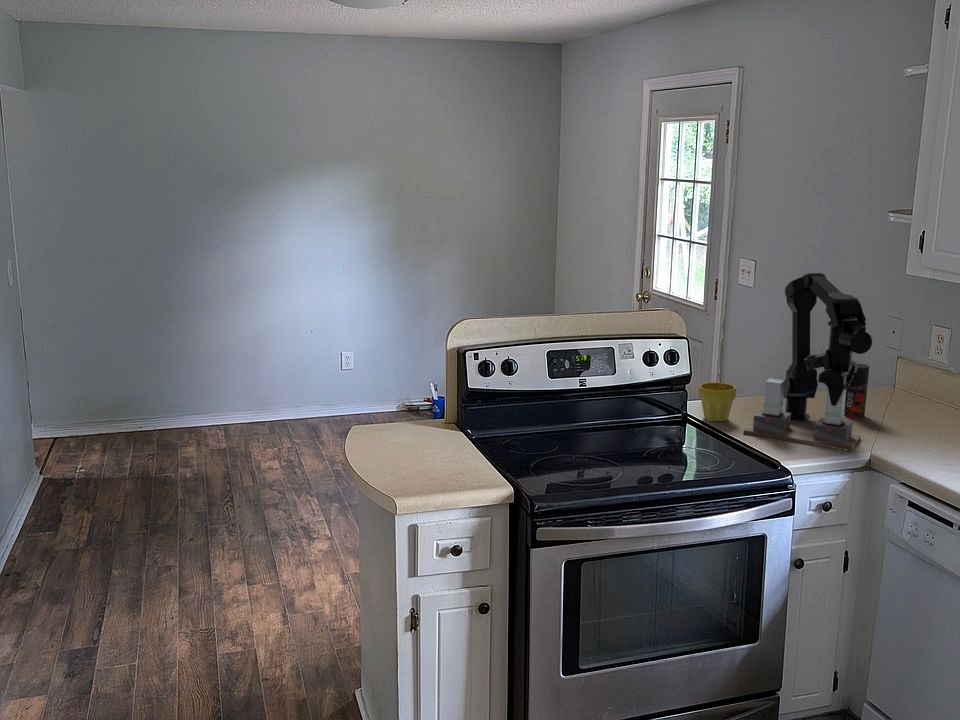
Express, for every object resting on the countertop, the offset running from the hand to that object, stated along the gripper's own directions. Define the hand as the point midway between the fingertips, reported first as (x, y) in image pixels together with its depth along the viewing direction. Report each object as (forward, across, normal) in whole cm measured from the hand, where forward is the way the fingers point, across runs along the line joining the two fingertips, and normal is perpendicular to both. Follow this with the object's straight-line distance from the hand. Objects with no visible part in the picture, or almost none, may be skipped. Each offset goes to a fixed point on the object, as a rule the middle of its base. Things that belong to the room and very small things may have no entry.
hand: (835, 403), depth 244 cm
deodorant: (+11, -29, 0) cm, 31 cm away
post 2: (+5, 0, 0) cm, 5 cm away
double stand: (+10, 0, -8) cm, 13 cm away
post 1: (+5, 0, -16) cm, 17 cm away
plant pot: (+11, -4, -33) cm, 35 cm away
